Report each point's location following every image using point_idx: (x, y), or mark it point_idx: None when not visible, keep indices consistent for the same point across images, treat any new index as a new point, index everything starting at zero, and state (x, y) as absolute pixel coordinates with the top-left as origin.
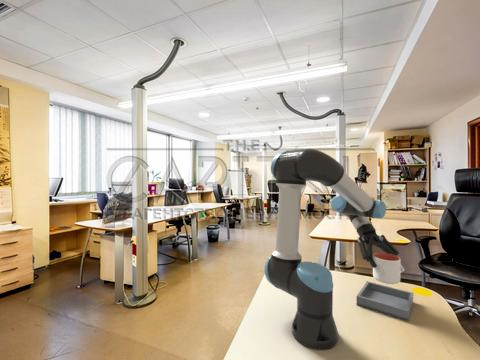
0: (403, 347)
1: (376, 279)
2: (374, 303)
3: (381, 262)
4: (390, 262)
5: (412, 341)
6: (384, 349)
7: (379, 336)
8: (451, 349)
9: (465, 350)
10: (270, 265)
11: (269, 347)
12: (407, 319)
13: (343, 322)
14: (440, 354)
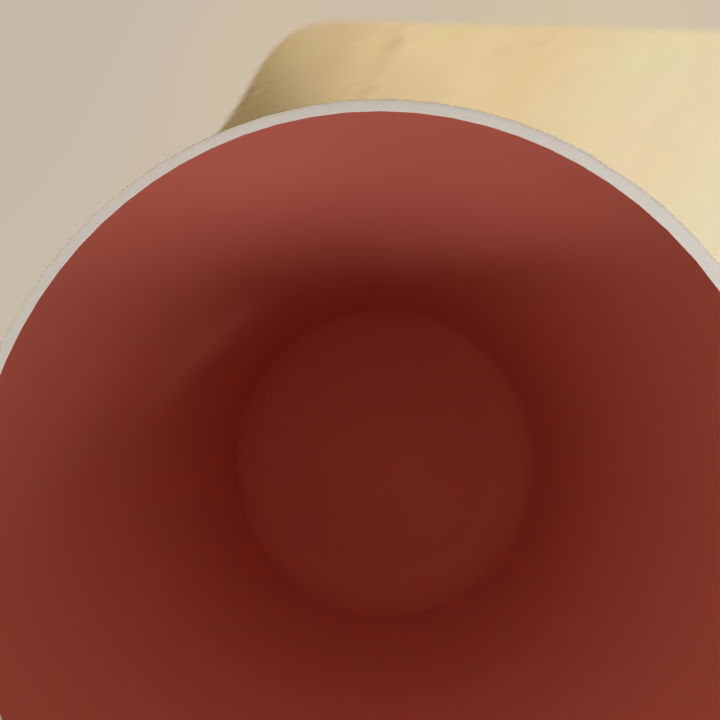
0: (584, 70)
1: (528, 442)
2: None
3: (652, 282)
4: (484, 143)
5: (507, 103)
6: (690, 63)
7: (658, 145)
8: (370, 51)
9: (316, 44)
10: None
11: None
12: None
13: None
14: (447, 28)
